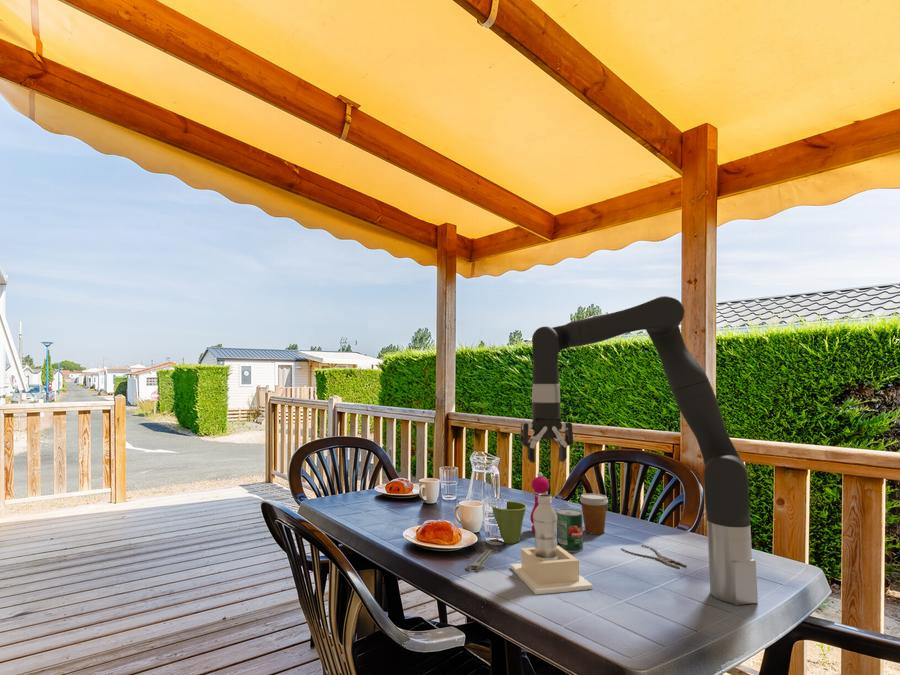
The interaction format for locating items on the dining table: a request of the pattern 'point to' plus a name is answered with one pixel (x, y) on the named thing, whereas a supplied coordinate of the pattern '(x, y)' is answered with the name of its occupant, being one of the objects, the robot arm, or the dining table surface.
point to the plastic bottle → (545, 529)
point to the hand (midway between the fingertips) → (547, 461)
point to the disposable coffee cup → (594, 512)
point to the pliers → (661, 559)
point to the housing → (550, 572)
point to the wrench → (482, 559)
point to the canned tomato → (569, 530)
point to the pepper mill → (538, 492)
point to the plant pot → (510, 521)
